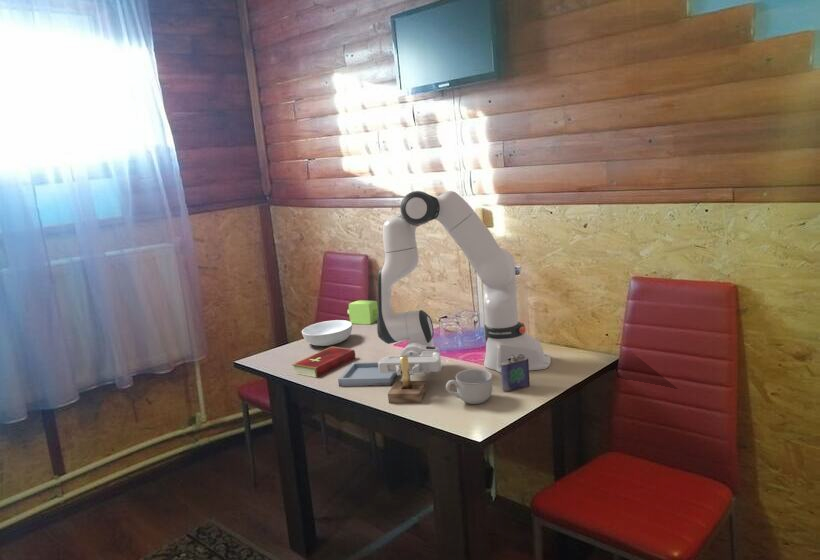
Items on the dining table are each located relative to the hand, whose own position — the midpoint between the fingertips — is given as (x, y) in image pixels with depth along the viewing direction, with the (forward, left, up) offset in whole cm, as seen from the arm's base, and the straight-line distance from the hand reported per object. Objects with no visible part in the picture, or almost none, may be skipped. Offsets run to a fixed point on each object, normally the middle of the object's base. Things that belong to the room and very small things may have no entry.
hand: (404, 372), depth 190 cm
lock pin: (0, -1, -8) cm, 8 cm away
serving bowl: (+47, -58, -8) cm, 75 cm away
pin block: (0, -1, -8) cm, 8 cm away
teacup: (-20, +3, -8) cm, 22 cm away
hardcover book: (+39, -30, -9) cm, 50 cm away
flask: (-33, -6, -8) cm, 35 cm away
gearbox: (+39, -88, -8) cm, 96 cm away
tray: (+17, -18, -8) cm, 26 cm away
